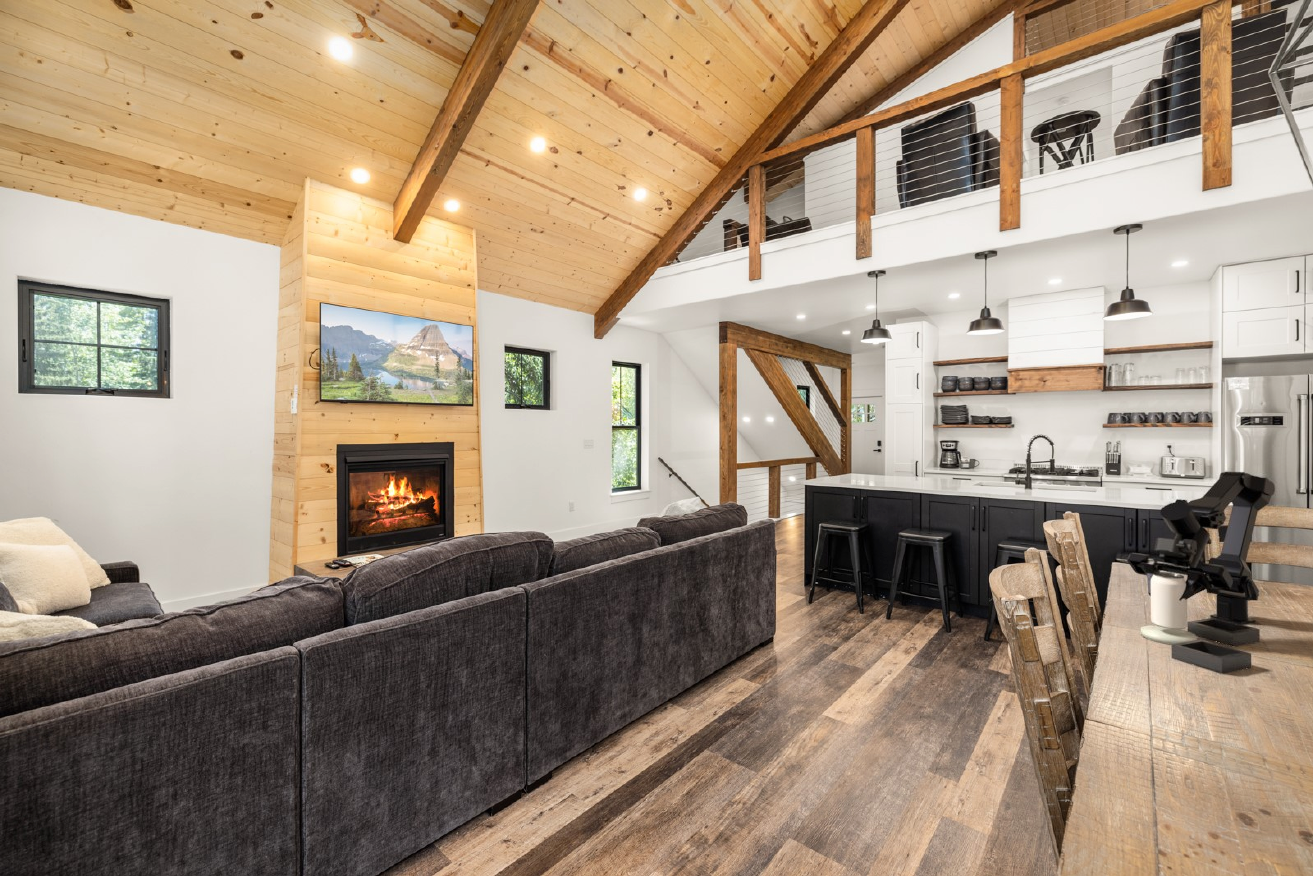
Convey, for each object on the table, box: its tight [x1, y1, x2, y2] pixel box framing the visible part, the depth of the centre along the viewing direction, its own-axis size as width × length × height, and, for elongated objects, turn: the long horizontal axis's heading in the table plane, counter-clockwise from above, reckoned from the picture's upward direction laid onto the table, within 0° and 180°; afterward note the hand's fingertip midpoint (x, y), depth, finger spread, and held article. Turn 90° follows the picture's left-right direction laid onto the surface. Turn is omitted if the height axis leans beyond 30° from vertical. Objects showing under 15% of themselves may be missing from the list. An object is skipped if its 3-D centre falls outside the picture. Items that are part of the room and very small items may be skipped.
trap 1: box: [1170, 638, 1252, 674], centre depth 124 cm, size 9×9×3 cm
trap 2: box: [1187, 617, 1261, 647], centre depth 138 cm, size 9×9×3 cm
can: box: [1150, 571, 1188, 630], centre depth 138 cm, size 6×6×12 cm
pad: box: [1140, 624, 1198, 646], centre depth 138 cm, size 10×10×2 cm
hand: (1164, 598), depth 138 cm, fingers closed on can, 5 cm apart
